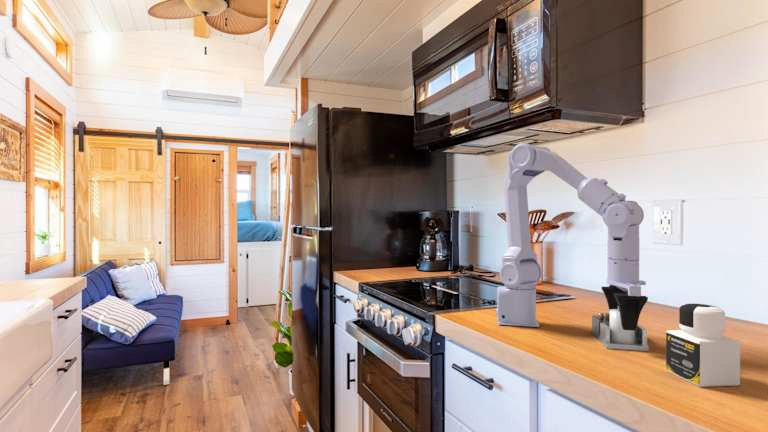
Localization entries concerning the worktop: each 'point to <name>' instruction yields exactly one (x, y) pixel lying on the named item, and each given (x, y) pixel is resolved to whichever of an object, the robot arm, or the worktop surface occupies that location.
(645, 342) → the grey tray
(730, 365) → the medicine bottle
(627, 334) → the white cylinder
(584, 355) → the worktop surface
